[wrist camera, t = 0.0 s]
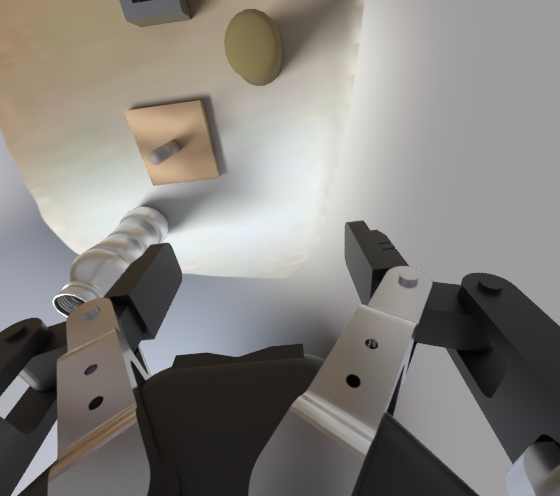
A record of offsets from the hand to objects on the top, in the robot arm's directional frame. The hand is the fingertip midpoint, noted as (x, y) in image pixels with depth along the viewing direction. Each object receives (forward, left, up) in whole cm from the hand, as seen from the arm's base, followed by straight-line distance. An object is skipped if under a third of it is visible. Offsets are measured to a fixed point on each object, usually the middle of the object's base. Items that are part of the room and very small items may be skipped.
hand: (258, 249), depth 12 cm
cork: (-10, 0, -30) cm, 31 cm away
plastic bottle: (+10, -21, -30) cm, 38 cm away
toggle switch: (-1, -13, -29) cm, 32 cm away
